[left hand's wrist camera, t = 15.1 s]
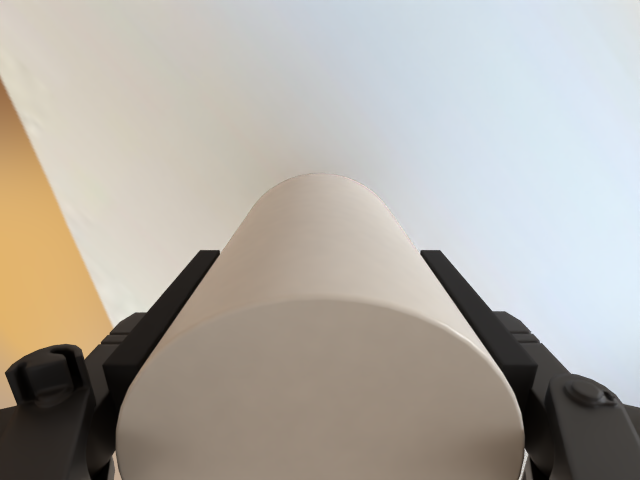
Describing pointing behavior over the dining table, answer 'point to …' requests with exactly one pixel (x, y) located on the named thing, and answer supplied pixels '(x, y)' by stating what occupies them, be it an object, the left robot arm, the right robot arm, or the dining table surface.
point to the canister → (320, 359)
